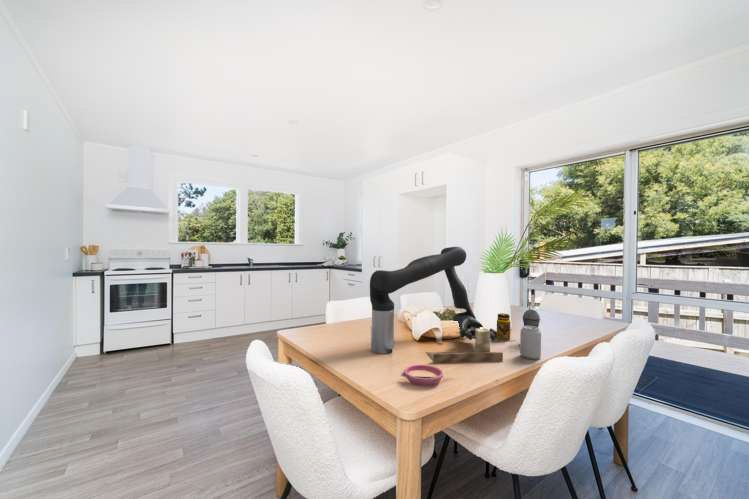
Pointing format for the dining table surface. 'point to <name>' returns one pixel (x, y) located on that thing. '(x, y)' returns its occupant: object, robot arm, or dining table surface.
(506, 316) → the condiment
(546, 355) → the dining table surface
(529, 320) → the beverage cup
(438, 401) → the dining table surface
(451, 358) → the board
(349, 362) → the dining table surface
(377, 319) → the robot arm
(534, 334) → the grey square jar
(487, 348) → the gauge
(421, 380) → the purple round open piece
